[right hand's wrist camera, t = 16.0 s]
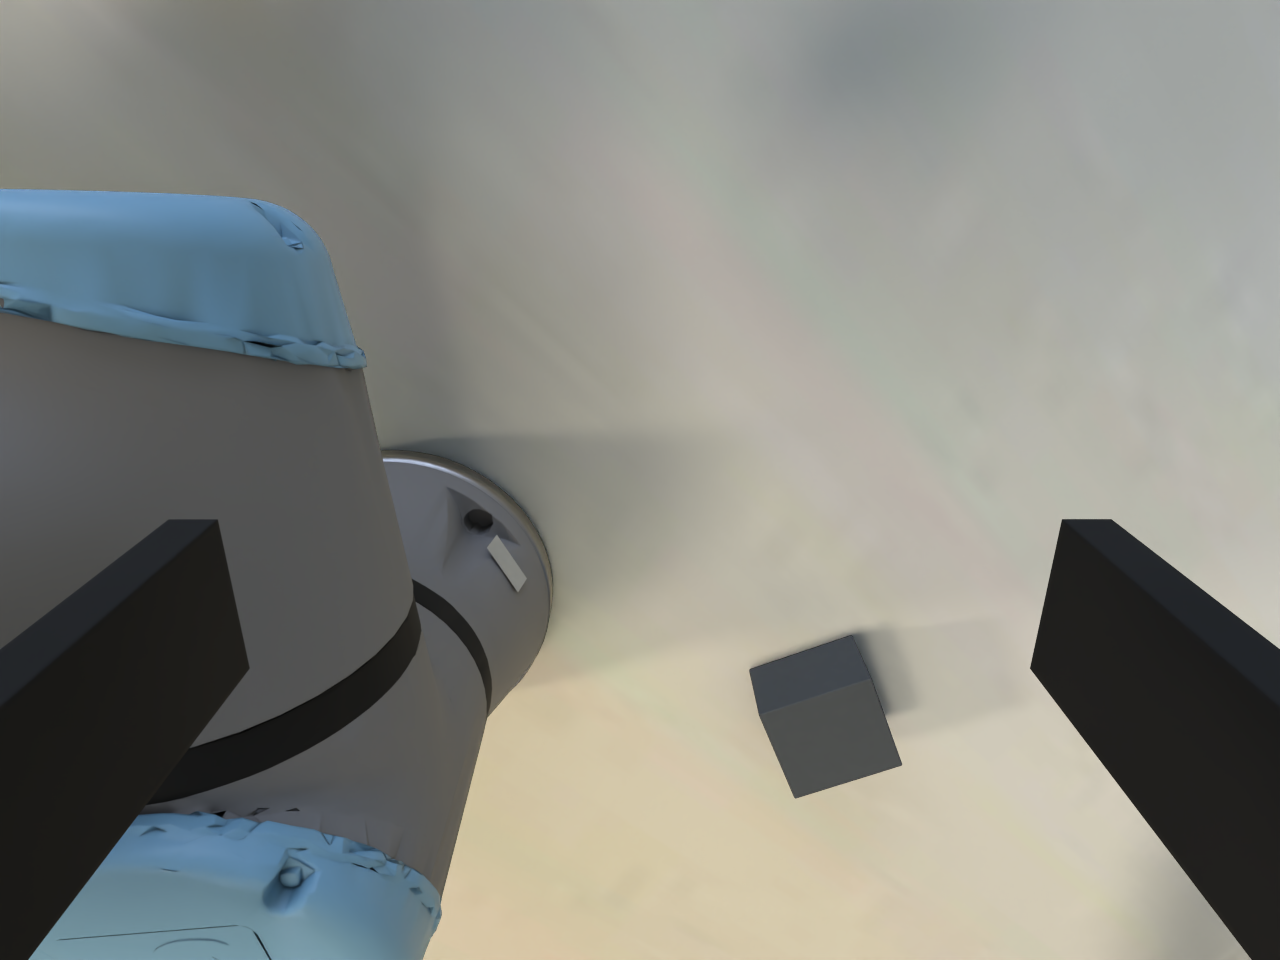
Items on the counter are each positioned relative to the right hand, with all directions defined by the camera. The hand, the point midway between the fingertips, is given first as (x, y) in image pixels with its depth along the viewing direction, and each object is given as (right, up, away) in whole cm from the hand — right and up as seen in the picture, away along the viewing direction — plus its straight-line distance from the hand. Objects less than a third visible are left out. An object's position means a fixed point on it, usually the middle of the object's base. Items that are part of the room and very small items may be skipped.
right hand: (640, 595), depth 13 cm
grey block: (+10, -10, +33) cm, 36 cm away
